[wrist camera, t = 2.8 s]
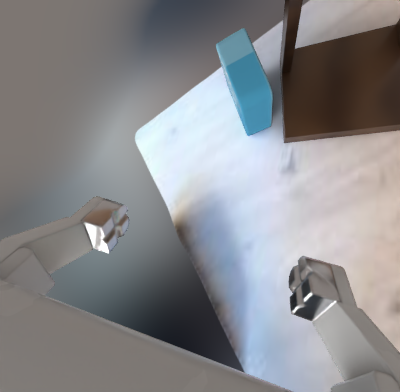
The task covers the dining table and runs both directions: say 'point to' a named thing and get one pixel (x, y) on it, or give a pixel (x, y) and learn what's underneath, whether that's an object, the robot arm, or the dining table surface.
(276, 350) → the dining table surface
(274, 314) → the dining table surface
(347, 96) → the shelf
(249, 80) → the data package
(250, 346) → the dining table surface
